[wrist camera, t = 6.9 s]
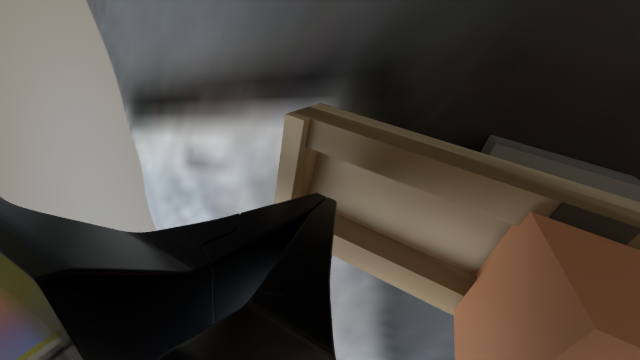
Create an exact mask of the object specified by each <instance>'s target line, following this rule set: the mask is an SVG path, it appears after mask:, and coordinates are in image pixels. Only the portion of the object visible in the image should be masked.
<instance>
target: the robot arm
mask: <svg viewBox="0 0 640 360" xmlns="http://www.w3.org/2000/svg"><path fill="white" fill-rule="evenodd" d="M336 208H337V201H336V200H334V199H331V198H329V197H327V198H326V196H324V195H322V194H320V193H313V194H309V195H306V196H302V197H298V198H295V199H291V200H287V201H283V202H280V203H276V204H272V205H269V206H265V207H261V208H258V209H254V210H250V211H246V212H243V213H241V214H235V215H231V216H227V217H223V218H219V219H215V220H211V221H206V222H201V223H196V224H190V225H185V226H180V227H174V228H169V229H164V230H158V231H152V232H142V233H135V232H133V233H132V232H125V231H119V230H114V229H111V228H106V227H102V226H97V225H93V224H89V223H84V222H80V221H76V220H71V219H67V218H62V217H58V216H54V215H49V214H45V213H40V212H37V211H33V210H29V209H26V208H22V207H19V206H17V205H14V204H12V203H9V202H8V201H6V200H4V199H3V198H1V197H0V360H336V357H335V351H334V342H333V330H332V316H331V302H330V269H331V258H332V248H333V238H334V228H335V218H336Z"/></svg>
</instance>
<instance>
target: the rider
mask: <svg viewBox="0 0 640 360" xmlns="http://www.w3.org/2000/svg"><path fill="white" fill-rule="evenodd" d="M476 276H477V280H476V282H475V283H474V284H473V286H472V287H471V288H470V289H469V291H468V292H467V293H466V295H465V296H464V297H463V298H462V300H461V301H460V302H459V304H458V305H457V306H456V307H455V309H454V338H455V360H640V250H638V249H635V248H632V247H629V246H627V245H624V244H621V243H618V242H615V241H612V240H610V239H607V238H604V237H601V236H598V235H596V234H593V233H590V232H587V231H584V230H581V229H579V228H576V227H573V226H570V225H567V224H565V223H562V222H559V221H556V220H553V219H550V218H548V217H545V216H542V215H539V214H536V213H534V212H531V211H530V212H529V213H528V215H527V216H526V217H525V219H524V220H523V221H522V222H521V224H520V225H519V226H515V225H512V226H511V228H510V229H509V230H508V231H507V233H506V234H505V235H504V237H503V238H502V239H501V241H500V242H499V243H498V245H497V246H496V247H495V249H494V250H493V251H492V253H491V254H490V255H489V257H488V258H487V259H486V261H485V262H484V263H483V264H482V266H481V267H480V268H479V270H478V271H477V272H476Z"/></svg>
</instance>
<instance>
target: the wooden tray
mask: <svg viewBox="0 0 640 360" xmlns="http://www.w3.org/2000/svg"><path fill="white" fill-rule="evenodd" d="M313 193H320V194H322V195H324V196H326V198H327V197H329V198H331V199H334V200H336V201H337V208H336V218H335V228H334V238H333V248H332V255H333V256H335V257H337V258H339V259H341V260H343V261H345V262H347V263H349V264H351V265H353V266H355V267H357V268H359V269H361V270H363V271H365V272H367V273H369V274H371V275H373V276H375V277H377V278H379V279H381V280H383V281H385V282H387V283H389V284H391V285H393V286H395V287H397V288H399V289H401V290H403V291H405V292H407V293H409V294H411V295H413V296H415V297H417V298H419V299H421V300H423V301H425V302H427V303H429V304H431V305H433V306H435V307H437V308H439V309H441V310H443V311H445V312H447V313H449V314H451V315H453V316H454V309H455V307H456V306H457V305H458V304H459V302H460V301H461V300H462V298H463V297H464V296H465V295H466V293H467V292H468V291H469V289H470V288H471V287H472V286H473V284H474V283H475V282H476V280H477V276H476V272H477V271H478V270H479V268H480V267H481V266H482V264H483V263H484V262H485V261H486V259H487V258H488V257H489V255H490V254H491V253H492V251H493V250H494V249H495V247H496V246H497V245H498V243H499V242H500V241H501V239H502V238H503V237H504V235H505V234H506V233H507V231H508V230H509V229H510V228H511V226H512V225H515V226H519V225H520V224H521V222H522V221H523V220H524V219H525V217H526V216H527V215H528V213H529V212H530V211H531V212H534V213H536V214H539V215H542V216H545V217H548V218H550V219H553V220H556V221H559V222H562V223H565V224H567V225H570V226H573V227H576V228H579V229H581V230H584V231H587V232H590V233H593V234H596V235H598V236H601V237H604V238H607V239H610V240H612V241H615V242H618V243H621V244H624V245H627V246H629V247H632V248H635V249H638V250H640V180H639V179H637V178H636V177H634V176H632V175H628V174H625V173H622V172H618V171H615V170H611V169H608V168H604V167H601V166H597V165H594V164H590V163H587V162H584V161H580V160H577V159H573V158H570V157H566V156H563V155H559V154H556V153H552V152H549V151H546V150H542V149H539V148H535V147H532V146H528V145H525V144H521V143H518V142H514V141H511V140H507V139H504V138H501V137H497V136H494V135H490V136H489V138H488V140H487V142H486V143H485V145H484V147H483V149H482V150H481V152H477V151H474V150H470V149H467V148H464V147H461V146H458V145H454V144H451V143H448V142H445V141H441V140H438V139H435V138H432V137H429V136H425V135H422V134H419V133H416V132H413V131H409V130H406V129H403V128H400V127H397V126H393V125H390V124H387V123H384V122H380V121H377V120H374V119H371V118H368V117H364V116H361V115H358V114H355V113H352V112H348V111H345V110H342V109H339V108H336V107H332V106H329V105H326V104H323V103H319V104H316V105H313V106H310V107H307V108H303V109H300V110H297V111H294V112H291V113H288V114H285V122H284V130H283V138H282V146H281V154H280V162H279V170H278V178H277V187H276V195H275V203H274V204H276V203H280V202H283V201H287V200H291V199H295V198H298V197H302V196H306V195H309V194H313Z"/></svg>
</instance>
